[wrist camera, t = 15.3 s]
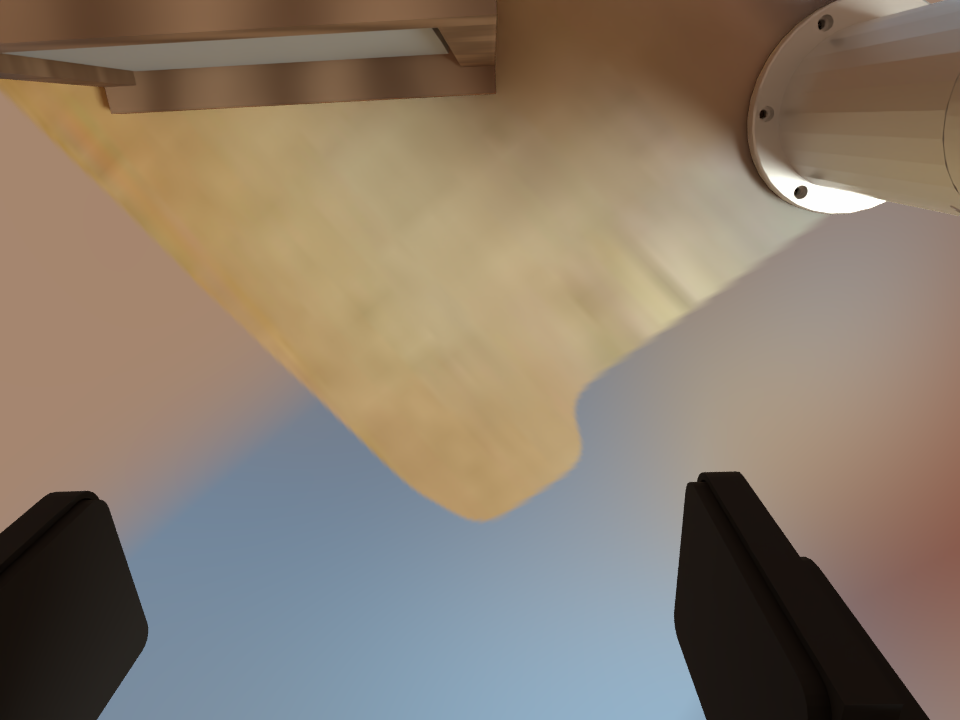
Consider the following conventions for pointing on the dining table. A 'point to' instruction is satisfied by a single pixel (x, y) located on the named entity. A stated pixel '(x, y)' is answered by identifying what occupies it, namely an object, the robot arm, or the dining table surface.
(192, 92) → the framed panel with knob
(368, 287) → the dining table surface
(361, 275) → the dining table surface
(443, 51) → the door
